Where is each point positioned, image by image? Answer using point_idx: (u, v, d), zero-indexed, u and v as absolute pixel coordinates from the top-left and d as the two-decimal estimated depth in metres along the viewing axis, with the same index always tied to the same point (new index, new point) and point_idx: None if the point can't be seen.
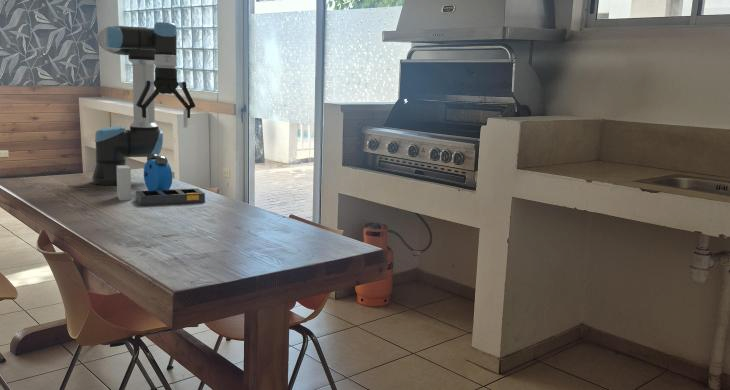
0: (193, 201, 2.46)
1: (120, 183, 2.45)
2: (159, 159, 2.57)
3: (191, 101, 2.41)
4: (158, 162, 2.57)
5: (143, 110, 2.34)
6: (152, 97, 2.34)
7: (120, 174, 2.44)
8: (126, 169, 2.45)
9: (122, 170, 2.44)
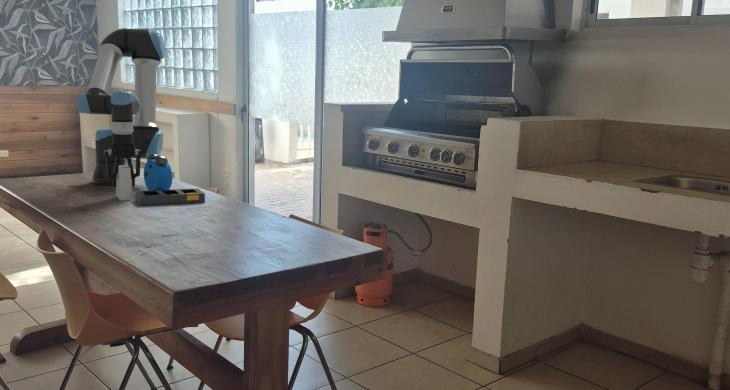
0: (193, 201, 2.46)
1: (120, 183, 2.45)
2: (159, 159, 2.57)
3: (138, 170, 2.49)
4: (158, 162, 2.57)
5: (113, 180, 2.46)
6: (116, 165, 2.45)
7: (120, 174, 2.44)
8: (126, 169, 2.45)
9: (122, 170, 2.44)
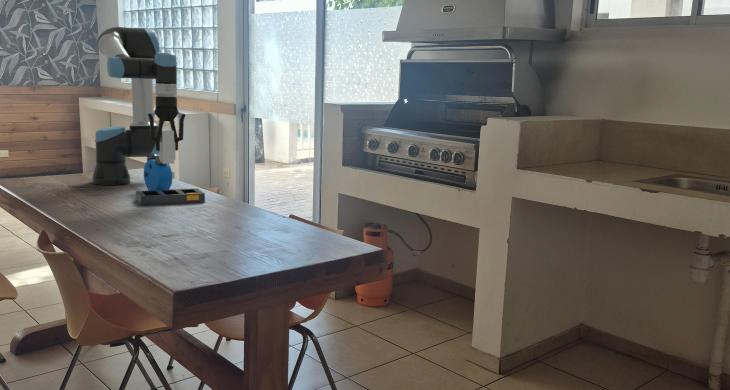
0: (193, 201, 2.46)
1: (163, 146, 2.42)
2: (159, 159, 2.57)
3: (181, 133, 2.47)
4: (158, 162, 2.57)
5: (157, 143, 2.44)
6: (160, 128, 2.43)
7: (163, 137, 2.42)
8: (169, 132, 2.42)
9: (165, 133, 2.42)
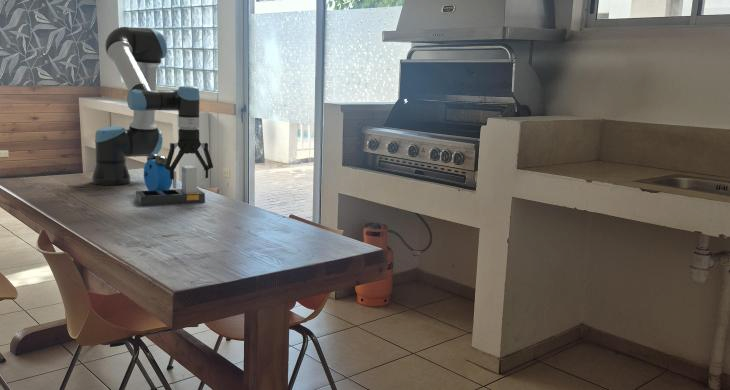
0: (193, 201, 2.46)
1: (186, 183, 2.46)
2: (159, 159, 2.57)
3: (210, 162, 2.51)
4: (158, 162, 2.57)
5: (171, 172, 2.45)
6: (178, 159, 2.45)
7: (187, 174, 2.45)
8: (192, 169, 2.46)
9: (189, 170, 2.46)
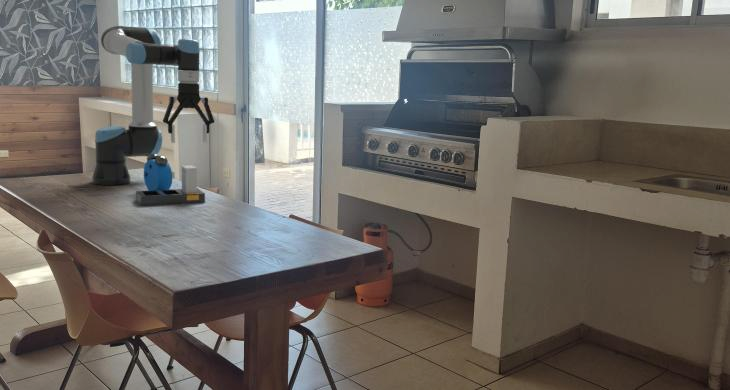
0: (193, 201, 2.46)
1: (186, 183, 2.46)
2: (159, 159, 2.57)
3: (211, 117, 2.48)
4: (158, 162, 2.57)
5: (169, 126, 2.42)
6: (177, 113, 2.42)
7: (187, 174, 2.45)
8: (192, 169, 2.46)
9: (189, 170, 2.46)
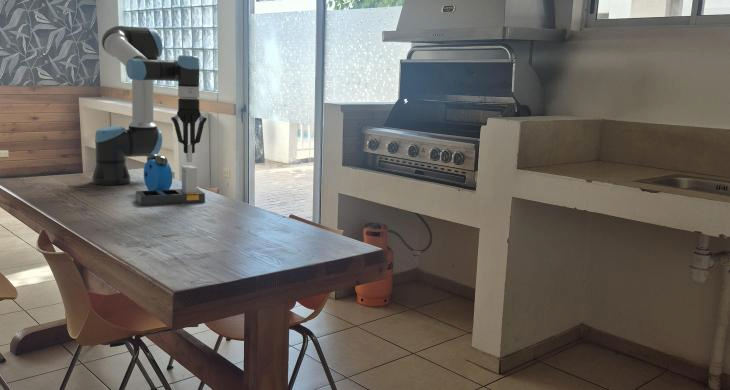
0: (193, 201, 2.46)
1: (186, 183, 2.46)
2: (159, 159, 2.57)
3: (199, 136, 2.47)
4: (158, 162, 2.57)
5: (185, 146, 2.46)
6: (186, 131, 2.45)
7: (187, 174, 2.45)
8: (192, 169, 2.46)
9: (189, 170, 2.46)
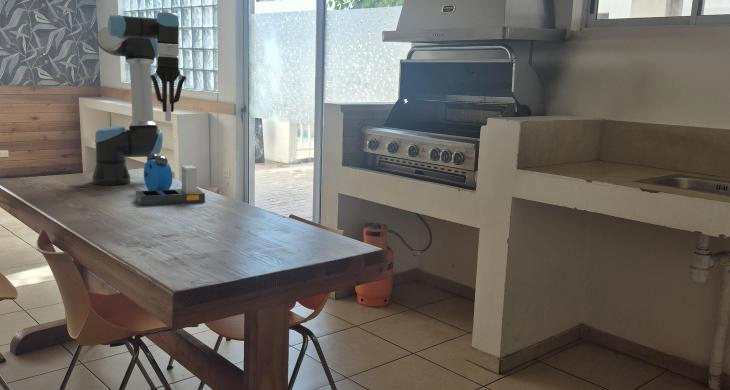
0: (193, 201, 2.46)
1: (186, 183, 2.46)
2: (159, 159, 2.57)
3: (178, 95, 2.46)
4: (158, 162, 2.57)
5: (164, 104, 2.45)
6: (165, 89, 2.43)
7: (187, 174, 2.45)
8: (192, 169, 2.46)
9: (189, 170, 2.46)
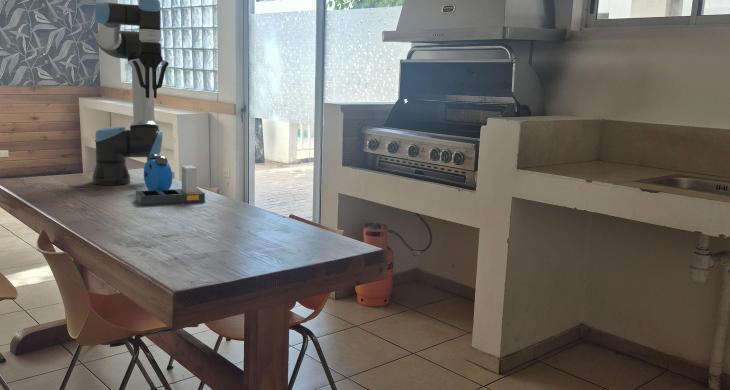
0: (193, 201, 2.46)
1: (186, 183, 2.46)
2: (159, 159, 2.57)
3: (161, 81, 2.45)
4: (158, 162, 2.57)
5: (146, 90, 2.44)
6: (147, 75, 2.42)
7: (187, 174, 2.45)
8: (192, 169, 2.46)
9: (189, 170, 2.46)
